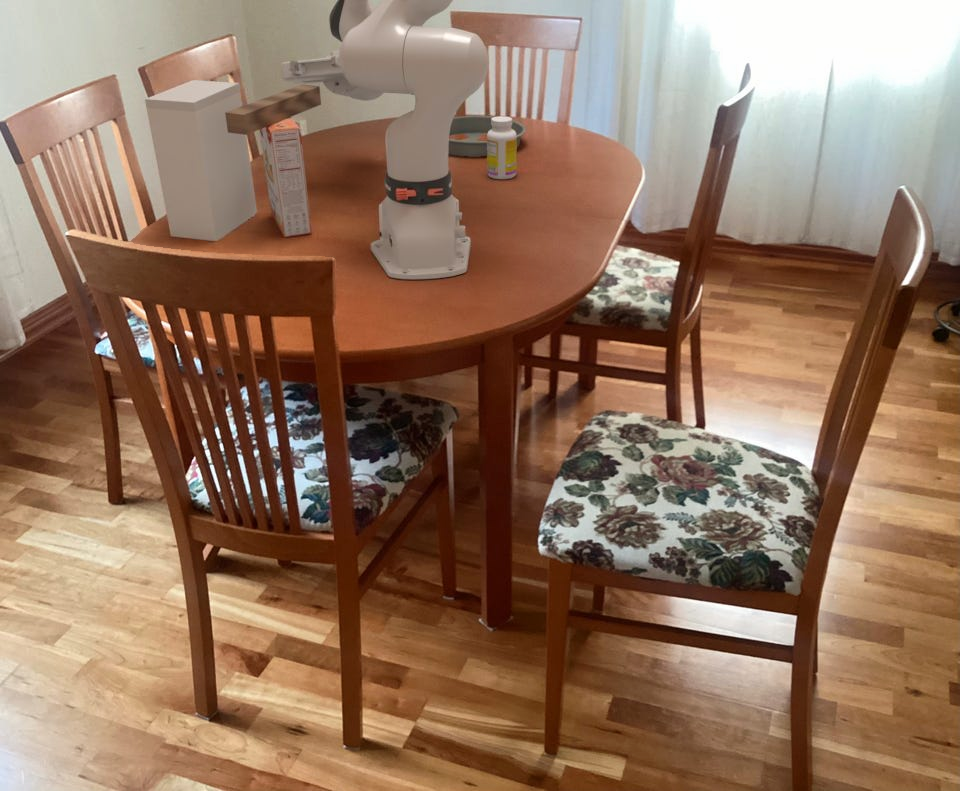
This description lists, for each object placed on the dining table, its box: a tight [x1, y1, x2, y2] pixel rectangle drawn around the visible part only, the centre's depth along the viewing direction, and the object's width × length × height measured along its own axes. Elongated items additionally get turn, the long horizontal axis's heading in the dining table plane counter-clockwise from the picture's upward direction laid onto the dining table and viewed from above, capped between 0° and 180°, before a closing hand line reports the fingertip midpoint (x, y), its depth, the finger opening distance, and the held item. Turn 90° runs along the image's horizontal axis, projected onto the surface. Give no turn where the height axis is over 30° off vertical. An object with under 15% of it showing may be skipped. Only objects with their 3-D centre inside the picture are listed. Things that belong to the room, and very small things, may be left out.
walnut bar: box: [225, 84, 322, 135], centre depth 172 cm, size 24×4×4 cm, turn 155°
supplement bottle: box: [486, 115, 518, 180], centre depth 206 cm, size 7×7×13 cm
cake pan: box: [448, 115, 527, 158], centre depth 230 cm, size 25×25×4 cm
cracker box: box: [259, 117, 313, 238], centre depth 178 cm, size 14×6×21 cm, turn 21°
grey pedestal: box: [144, 79, 258, 242], centre depth 177 cm, size 16×10×26 cm, turn 163°
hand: (312, 63), depth 182 cm, fingers open, 8 cm apart
